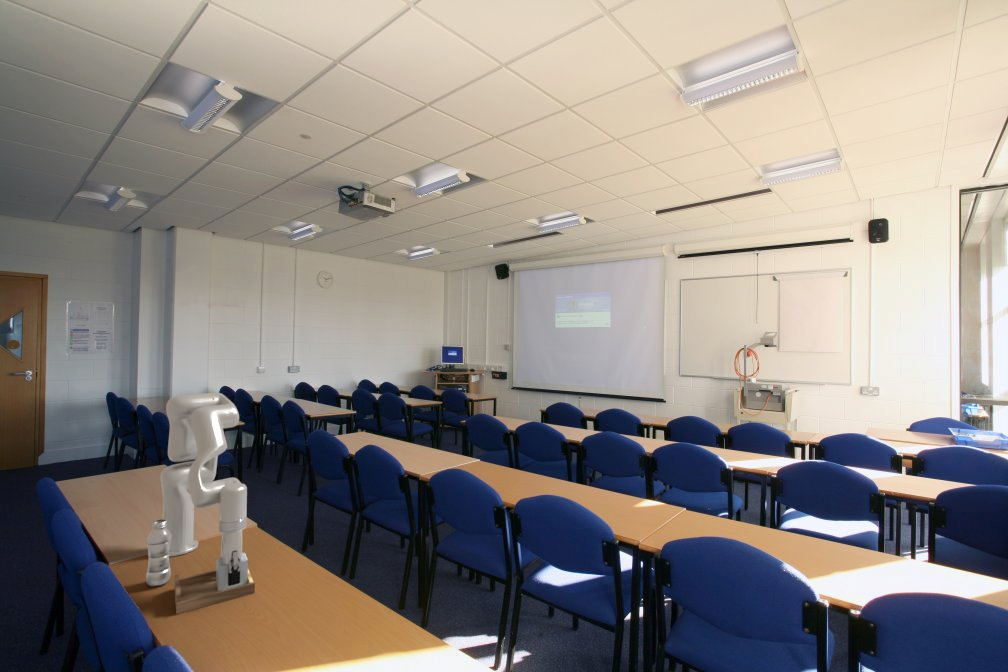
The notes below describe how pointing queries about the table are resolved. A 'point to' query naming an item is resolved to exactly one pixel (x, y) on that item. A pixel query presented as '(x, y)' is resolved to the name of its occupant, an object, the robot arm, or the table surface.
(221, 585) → the grey block
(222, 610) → the table surface
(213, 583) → the bay
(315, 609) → the table surface
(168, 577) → the plastic bottle
